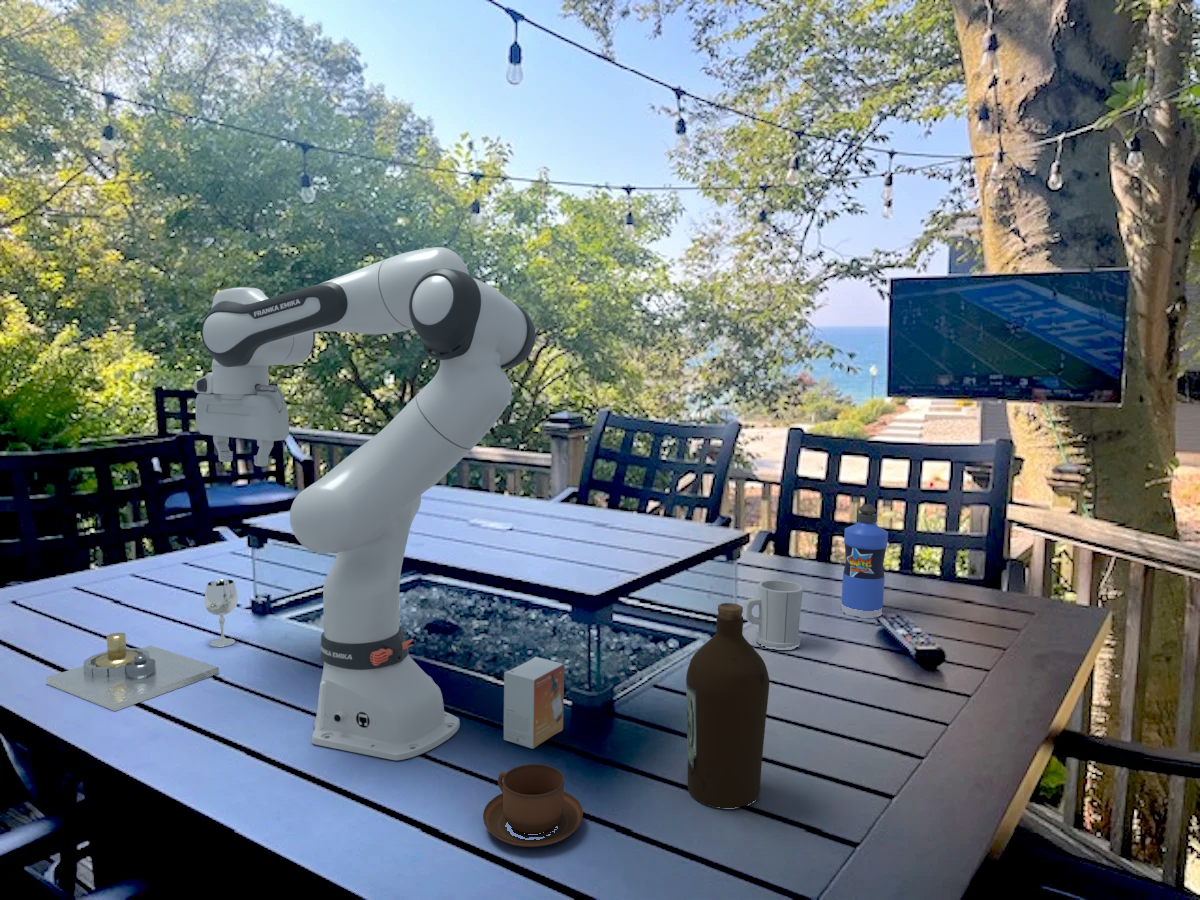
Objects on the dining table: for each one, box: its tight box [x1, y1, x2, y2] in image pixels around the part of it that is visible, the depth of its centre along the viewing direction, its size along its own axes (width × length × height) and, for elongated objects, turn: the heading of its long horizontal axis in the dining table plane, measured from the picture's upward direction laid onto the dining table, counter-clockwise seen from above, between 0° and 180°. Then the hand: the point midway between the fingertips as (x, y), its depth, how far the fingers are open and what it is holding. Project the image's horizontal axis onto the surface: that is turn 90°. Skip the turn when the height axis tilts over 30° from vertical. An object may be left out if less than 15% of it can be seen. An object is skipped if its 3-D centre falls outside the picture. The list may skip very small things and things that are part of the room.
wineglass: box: [204, 579, 239, 648], centre depth 155 cm, size 6×6×12 cm
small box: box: [503, 656, 565, 750], centre depth 120 cm, size 8×6×10 cm
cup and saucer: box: [482, 763, 584, 848], centre depth 97 cm, size 12×12×6 cm
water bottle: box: [840, 503, 889, 611], centre depth 182 cm, size 9×9×25 cm
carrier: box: [45, 645, 220, 712], centre depth 138 cm, size 20×18×4 cm
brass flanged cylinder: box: [96, 632, 138, 667], centre depth 140 cm, size 6×6×6 cm
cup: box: [744, 579, 804, 648], centre depth 161 cm, size 10×9×12 cm
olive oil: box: [685, 602, 770, 808], centre depth 104 cm, size 11×11×25 cm
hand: (243, 463), depth 139 cm, fingers open, 8 cm apart
